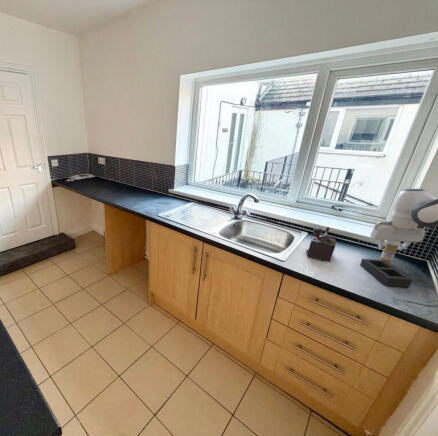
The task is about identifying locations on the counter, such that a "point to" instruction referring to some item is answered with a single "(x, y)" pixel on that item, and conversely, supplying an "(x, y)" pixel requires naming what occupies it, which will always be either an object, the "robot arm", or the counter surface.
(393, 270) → the holder
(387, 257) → the sprinkles bottle
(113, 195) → the counter surface
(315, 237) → the brown coffee grinder
